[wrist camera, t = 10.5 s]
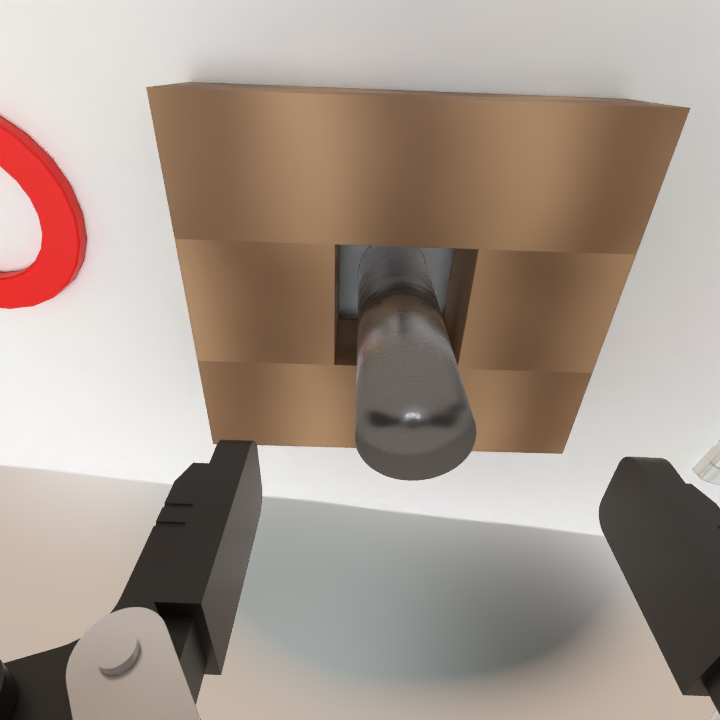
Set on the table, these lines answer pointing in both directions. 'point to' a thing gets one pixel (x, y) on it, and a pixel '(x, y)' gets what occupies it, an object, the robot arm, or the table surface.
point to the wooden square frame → (404, 242)
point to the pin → (406, 372)
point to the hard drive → (710, 466)
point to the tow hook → (42, 222)
